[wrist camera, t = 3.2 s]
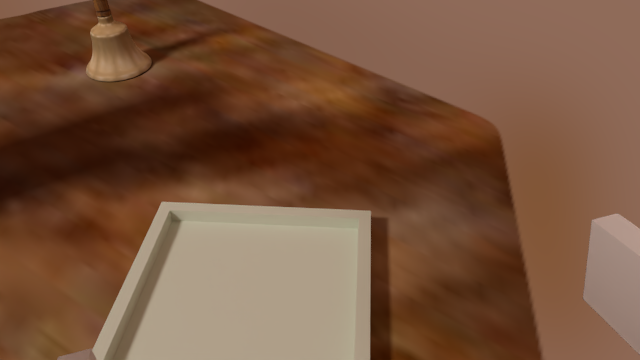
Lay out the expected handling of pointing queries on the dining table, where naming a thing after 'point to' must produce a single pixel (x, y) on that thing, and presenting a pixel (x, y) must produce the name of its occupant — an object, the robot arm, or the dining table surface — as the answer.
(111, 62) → the hand bell
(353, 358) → the tray
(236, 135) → the dining table surface
